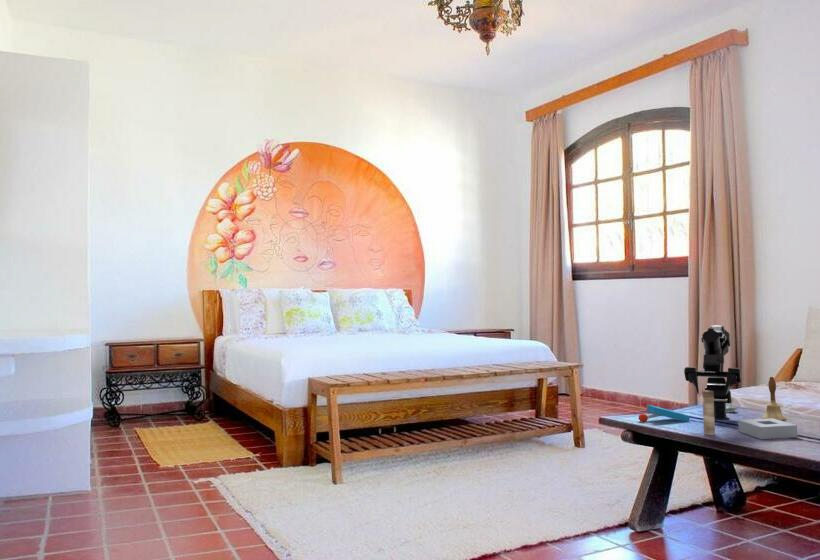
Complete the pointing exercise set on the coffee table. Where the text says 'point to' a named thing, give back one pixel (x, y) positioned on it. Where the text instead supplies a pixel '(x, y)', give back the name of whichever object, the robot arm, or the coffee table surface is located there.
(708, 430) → the birch peg
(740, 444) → the coffee table surface
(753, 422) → the socket block
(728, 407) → the pacifier
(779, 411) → the hand bell
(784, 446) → the coffee table surface
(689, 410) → the coffee table surface
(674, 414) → the lever
